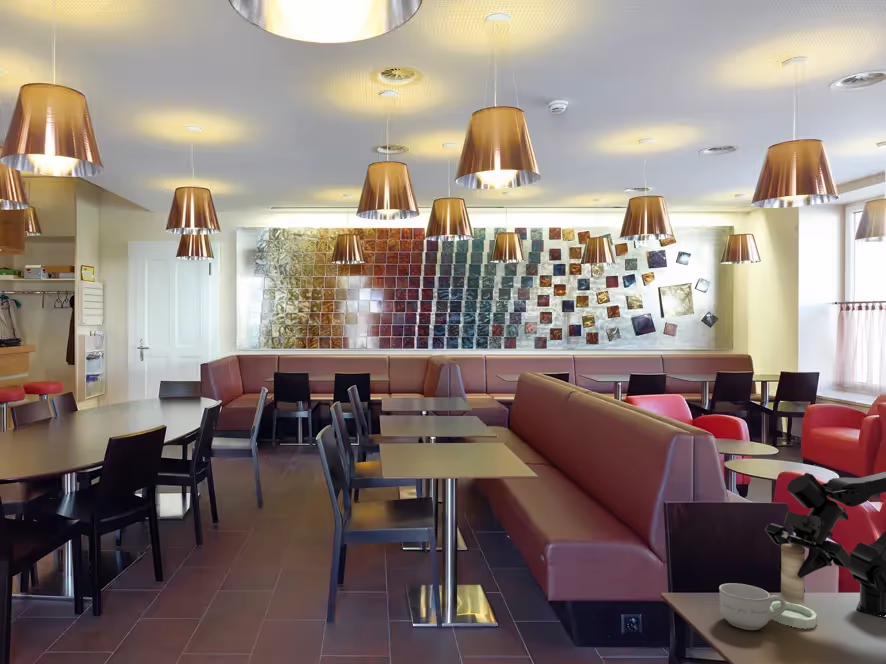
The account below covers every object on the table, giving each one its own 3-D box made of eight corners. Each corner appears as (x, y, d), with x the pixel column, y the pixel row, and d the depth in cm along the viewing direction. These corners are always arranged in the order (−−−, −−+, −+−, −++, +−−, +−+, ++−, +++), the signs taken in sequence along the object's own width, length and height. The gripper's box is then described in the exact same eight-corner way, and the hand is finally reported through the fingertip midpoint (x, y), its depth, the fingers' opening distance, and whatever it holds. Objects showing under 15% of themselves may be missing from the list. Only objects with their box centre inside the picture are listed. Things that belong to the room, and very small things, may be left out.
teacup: (716, 628, 141) (717, 592, 141) (719, 610, 150) (720, 577, 151) (786, 643, 134) (787, 606, 134) (785, 624, 144) (785, 589, 144)
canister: (783, 593, 150) (783, 542, 151) (806, 599, 147) (807, 547, 147) (778, 599, 147) (778, 547, 147) (802, 606, 143) (802, 552, 144)
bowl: (773, 605, 154) (773, 597, 154) (820, 618, 147) (820, 610, 147) (762, 618, 146) (762, 610, 146) (811, 632, 140) (811, 623, 140)
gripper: (770, 491, 157) (738, 539, 153) (843, 510, 140) (810, 565, 136) (791, 519, 160) (760, 567, 156) (865, 540, 143) (833, 595, 139)
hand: (788, 572), depth 146 cm, fingers closed on canister, 5 cm apart
